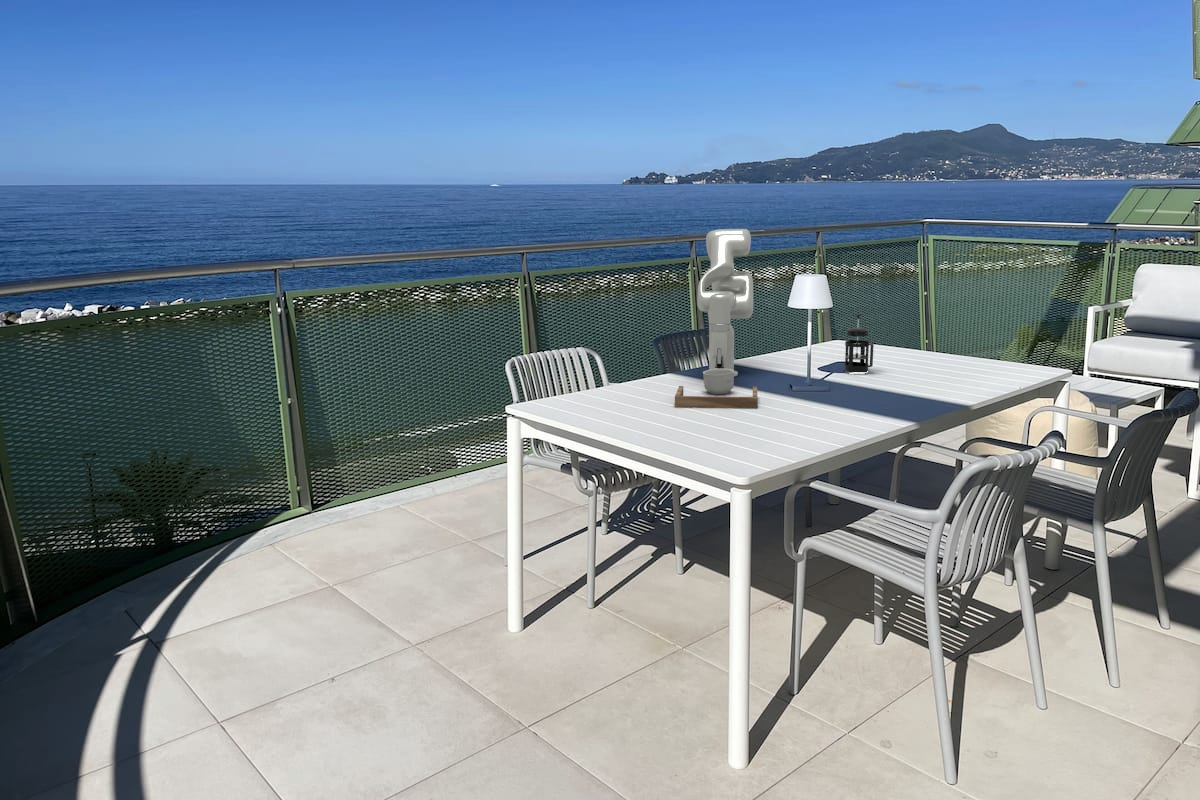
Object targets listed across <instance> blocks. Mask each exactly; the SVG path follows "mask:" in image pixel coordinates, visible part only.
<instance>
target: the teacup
mask: <svg viewBox="0 0 1200 800" xmlns="http://www.w3.org/2000/svg"><path fill="white" fill-rule="evenodd" d="M702 375H703V385H704V389H705V390H706V392H709V394H711V395H726V394H728V393H730V392H731V390H733V388H734V385H735V384H734V383H735V382H734V381H735V379H734V378H735V377H734V371H733V370H732V369H725V368H720V369H718V368H714V369H710V370H709V369H707V370H704V371H702Z"/></svg>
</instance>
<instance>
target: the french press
mask: <svg viewBox="0 0 1200 800" xmlns="http://www.w3.org/2000/svg"><path fill="white" fill-rule="evenodd" d="M864 315H865V314H864V313H861V312H859V313H853V314H852V316H856V319H857V327H849V328H845V331H846V335H847V336H849V337H856V339H852V340H846V341H845V343H844V345H845V358H844V361H845V362H844V366H843V367H844V369H843V371H844V370H846V371H849V372H867V371H869V368H871V367H873V363H874V343H870V341H869V340H862V339H861V340H860V339H859V337H869V335H870V334H869V333H870V331H871V329H870V328H865V327H859V321H860V317H861V316H864ZM854 348H856V352H855V354H854ZM858 348H860V354H859V353H858ZM869 348H870V349H869ZM869 350H870V354H869ZM854 360H858V361H854Z"/></svg>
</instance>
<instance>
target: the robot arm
mask: <svg viewBox="0 0 1200 800" xmlns="http://www.w3.org/2000/svg"><path fill="white" fill-rule="evenodd" d="M751 242H752V236H751V232H750V231H749V229H747V228H725V229H723V228H722V229H714V230H711V231H709V232H708V233H707V234H706V237H705V245H706V251H707V252H706V253H707V255H708V258H709V260H710V268H709V269H708V270H706V272H705V273H704V274H703V275H702V277H701V278H700V280H699V282H698V285H697V294H696V295H697V297H696V299H697V300H696V301H697V303H696V305H697V308H698V310H699V311H701V312H707V315H708V316H707V317H708V331H709V334H708V337H709V341H708V343H709V344H708V347H709V349H708V350H709V351H708V353H709V355H708V357H709V358H708V366H709V367H708V368H709V369H708V370H710V369H714V368H718V369H720V368H725V369H732V370H733V371H734V378H735V377H738V374H739V372H738V371H737V370H735V362H734V361H735V330H734V326H732V325H731V320H743V319H749V318H751V317H752V315H753V312H754V280H753V276H752V274H751V273H750V272H748V271H743V270H742V271H738V270H737V271H735V263H734V257H735V256H736V257H738V256H741V257H742V256H748V254H749V253H750V250H751V245H752V243H751ZM710 285H711V291H710V290H708V291H707V290H706V289H707V288H708V287H709V286H710Z"/></svg>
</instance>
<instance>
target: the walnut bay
mask: <svg viewBox="0 0 1200 800" xmlns="http://www.w3.org/2000/svg"><path fill="white" fill-rule="evenodd" d="M758 399H759V398H758V386H752V396H715V395H714V396H711V395H709V396H708V395H707V396H705V395H704V396H703V395H702V396H699V395H694V396H693V395H690V396H689V395H684V386H683V385H679V386H678V388H677V390H676V393H675V395H674V408H692V407H697V409H698V408H699V409H701V408H703V409H704V408H706V409H707V408H708V409H711V408H712V409H713V408H714V409H758Z"/></svg>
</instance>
